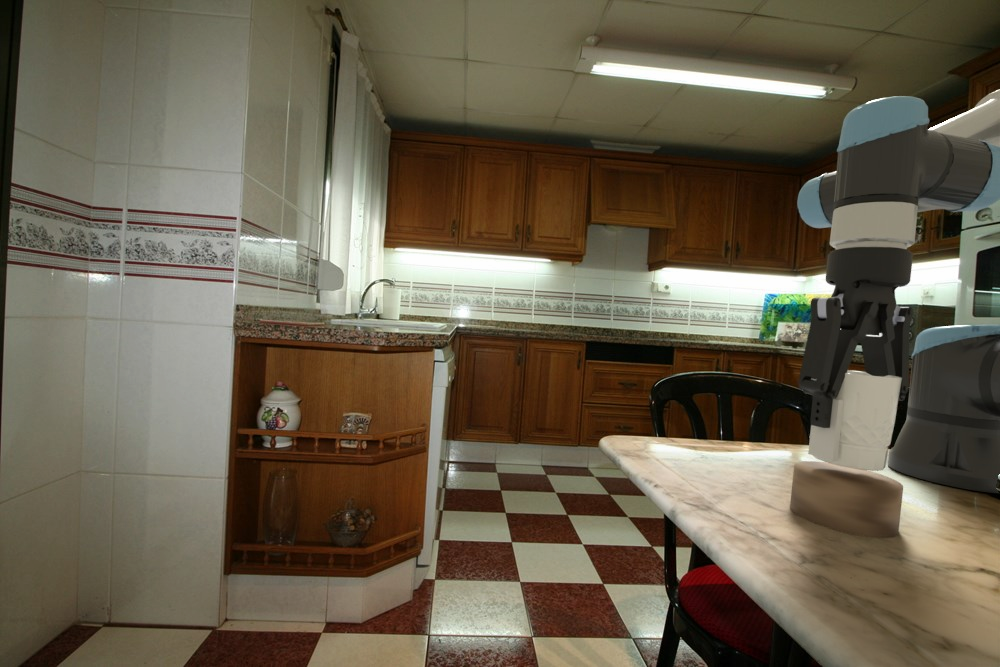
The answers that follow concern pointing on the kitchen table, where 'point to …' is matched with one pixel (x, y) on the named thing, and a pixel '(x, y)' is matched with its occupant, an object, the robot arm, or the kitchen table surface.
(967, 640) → the kitchen table surface
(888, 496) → the walnut block
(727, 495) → the kitchen table surface
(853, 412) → the white cup
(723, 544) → the kitchen table surface
